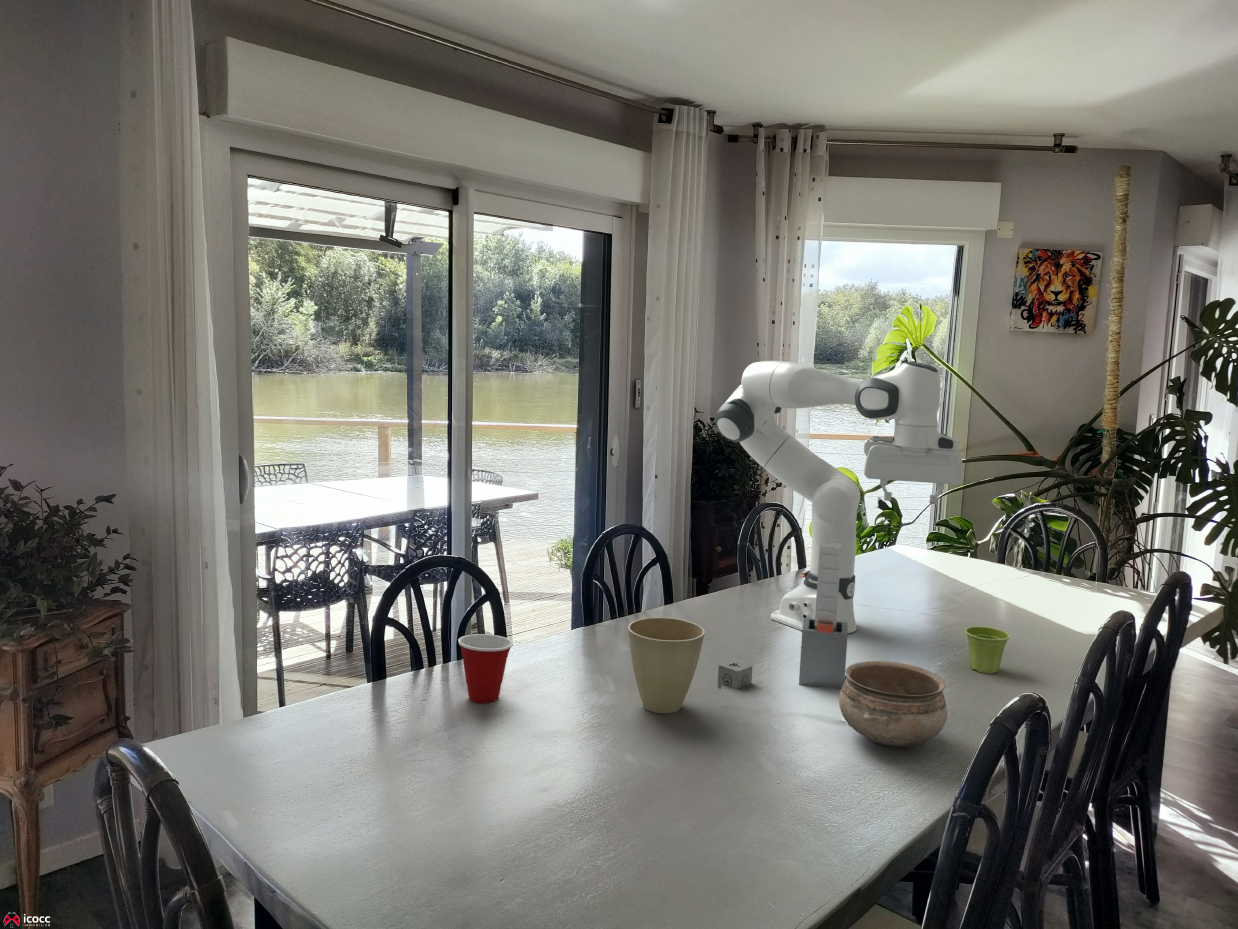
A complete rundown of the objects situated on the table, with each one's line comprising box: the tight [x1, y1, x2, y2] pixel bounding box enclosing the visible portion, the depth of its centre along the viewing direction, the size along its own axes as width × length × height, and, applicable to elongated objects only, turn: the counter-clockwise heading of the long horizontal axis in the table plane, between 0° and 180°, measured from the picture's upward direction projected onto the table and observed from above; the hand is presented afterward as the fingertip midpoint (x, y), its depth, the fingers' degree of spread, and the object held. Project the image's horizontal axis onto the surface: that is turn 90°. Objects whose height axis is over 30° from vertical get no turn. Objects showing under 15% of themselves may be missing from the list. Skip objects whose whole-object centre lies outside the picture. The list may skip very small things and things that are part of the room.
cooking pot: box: [838, 660, 948, 750], centre depth 165 cm, size 25×19×12 cm
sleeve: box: [798, 618, 849, 691], centre depth 192 cm, size 16×16×14 cm
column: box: [814, 542, 842, 632], centre depth 190 cm, size 4×5×20 cm
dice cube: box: [717, 659, 753, 690], centre depth 189 cm, size 5×5×5 cm
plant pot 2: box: [964, 626, 1011, 674], centre depth 206 cm, size 9×9×9 cm
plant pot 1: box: [627, 617, 705, 715], centre depth 177 cm, size 15×15×16 cm
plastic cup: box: [457, 633, 514, 704], centre depth 179 cm, size 11×11×12 cm
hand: (910, 502), depth 195 cm, fingers open, 8 cm apart
